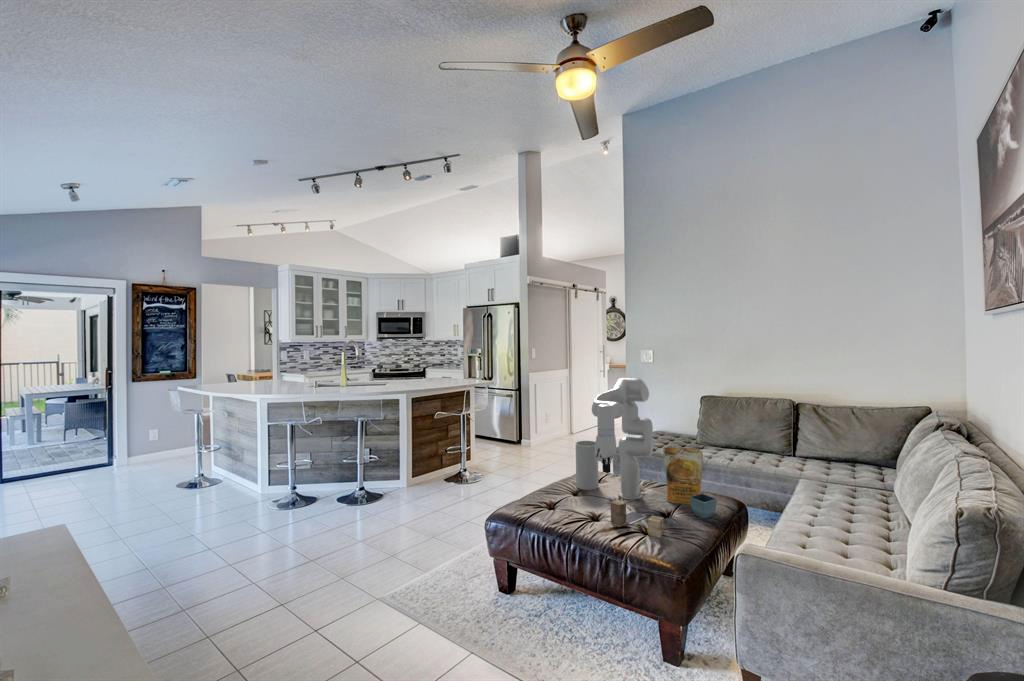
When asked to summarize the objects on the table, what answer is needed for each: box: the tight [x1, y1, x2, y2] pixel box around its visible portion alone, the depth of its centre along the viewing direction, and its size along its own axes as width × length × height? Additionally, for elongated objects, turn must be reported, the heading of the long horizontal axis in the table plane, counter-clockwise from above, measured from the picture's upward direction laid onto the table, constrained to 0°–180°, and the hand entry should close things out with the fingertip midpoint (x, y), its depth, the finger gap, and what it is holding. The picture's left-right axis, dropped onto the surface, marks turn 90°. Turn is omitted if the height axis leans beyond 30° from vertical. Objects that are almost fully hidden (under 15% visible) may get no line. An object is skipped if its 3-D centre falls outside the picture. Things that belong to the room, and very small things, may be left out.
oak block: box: [647, 515, 664, 538], centre depth 213 cm, size 5×5×7 cm
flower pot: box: [690, 493, 718, 519], centre depth 230 cm, size 9×9×9 cm
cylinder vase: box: [575, 440, 600, 491], centre depth 274 cm, size 12×12×25 cm
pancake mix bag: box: [662, 446, 704, 506], centre depth 248 cm, size 7×19×28 cm, turn 69°
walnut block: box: [610, 499, 627, 528], centre depth 224 cm, size 5×5×10 cm
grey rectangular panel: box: [626, 510, 647, 525], centre depth 231 cm, size 12×9×1 cm
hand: (606, 472), depth 218 cm, fingers closed
